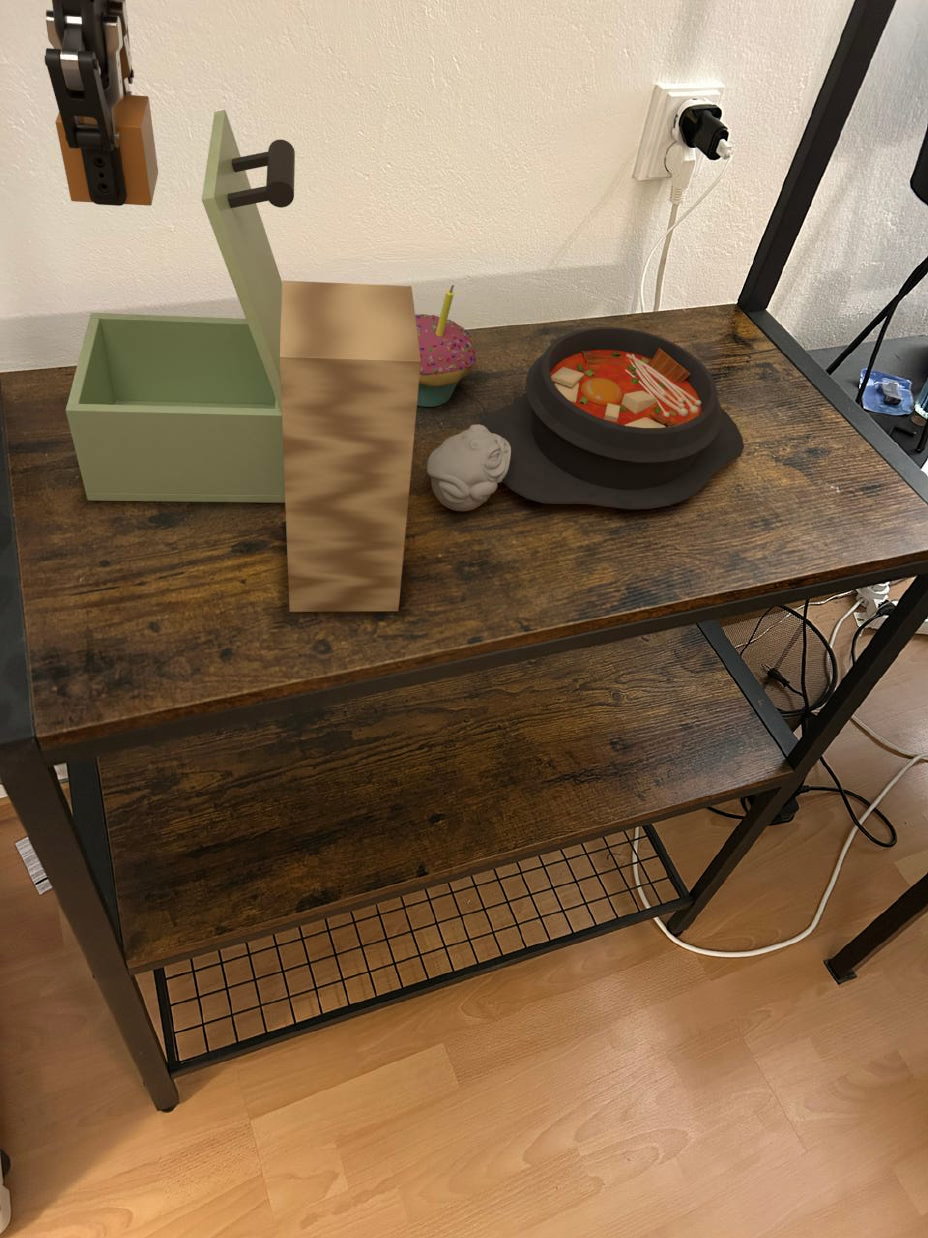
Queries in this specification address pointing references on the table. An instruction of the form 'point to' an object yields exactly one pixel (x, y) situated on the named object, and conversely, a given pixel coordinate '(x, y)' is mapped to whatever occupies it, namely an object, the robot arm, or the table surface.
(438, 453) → the frog figurine
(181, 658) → the table surface
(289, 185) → the lid
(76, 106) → the robot arm
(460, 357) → the cupcake
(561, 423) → the casserole
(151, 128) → the orange rectangular box
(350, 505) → the tall wooden pillar
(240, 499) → the chest
